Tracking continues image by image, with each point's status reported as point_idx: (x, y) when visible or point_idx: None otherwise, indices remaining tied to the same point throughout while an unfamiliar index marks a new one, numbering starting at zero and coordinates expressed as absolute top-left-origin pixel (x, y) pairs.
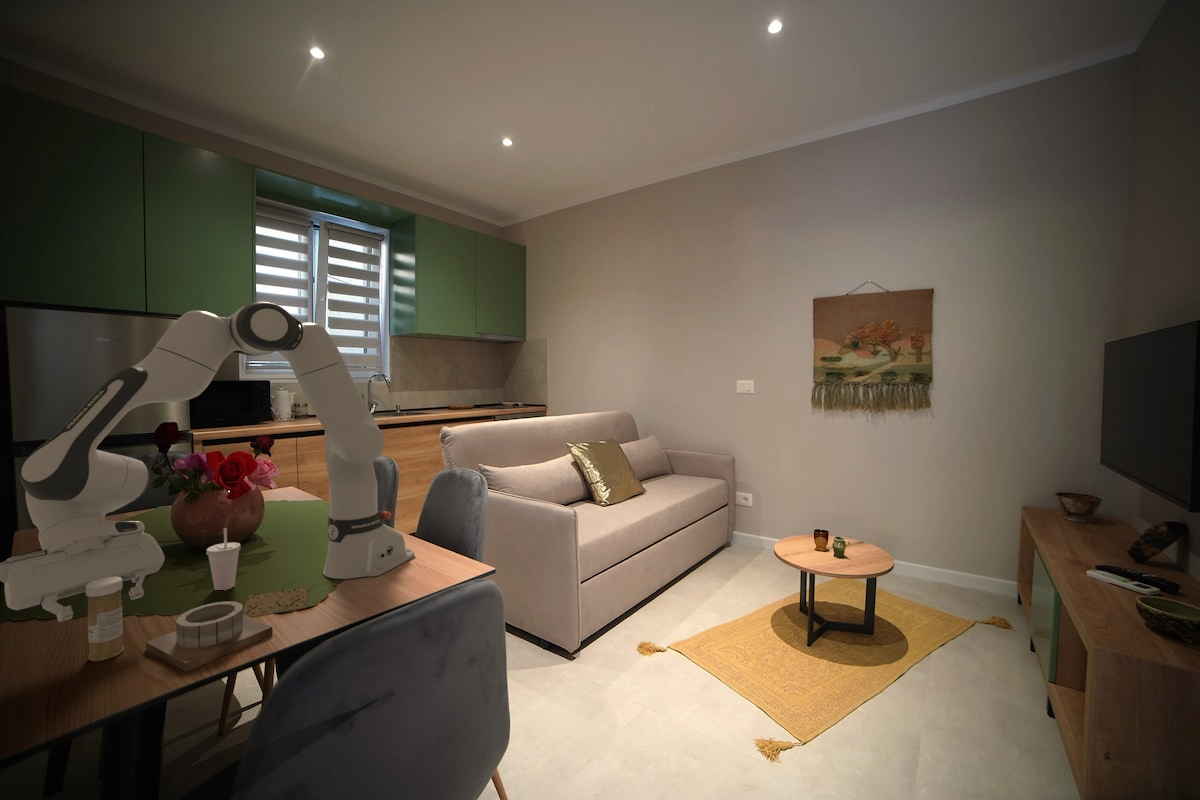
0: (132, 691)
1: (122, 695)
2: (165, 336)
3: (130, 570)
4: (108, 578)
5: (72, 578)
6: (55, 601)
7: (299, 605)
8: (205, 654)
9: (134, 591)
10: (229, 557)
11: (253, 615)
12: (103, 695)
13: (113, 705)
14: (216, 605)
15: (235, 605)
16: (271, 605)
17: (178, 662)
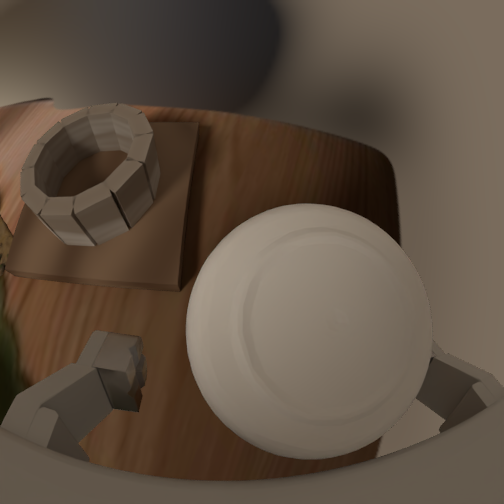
0: (272, 151)
1: (285, 153)
2: None
3: (54, 455)
4: (286, 375)
5: (487, 467)
6: (460, 403)
7: None
8: (164, 124)
9: (126, 349)
10: None
11: (6, 236)
12: (303, 177)
13: (301, 141)
14: (37, 189)
15: (40, 148)
16: None
17: (195, 146)
